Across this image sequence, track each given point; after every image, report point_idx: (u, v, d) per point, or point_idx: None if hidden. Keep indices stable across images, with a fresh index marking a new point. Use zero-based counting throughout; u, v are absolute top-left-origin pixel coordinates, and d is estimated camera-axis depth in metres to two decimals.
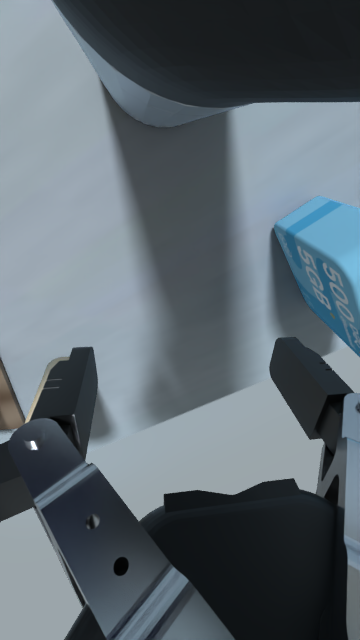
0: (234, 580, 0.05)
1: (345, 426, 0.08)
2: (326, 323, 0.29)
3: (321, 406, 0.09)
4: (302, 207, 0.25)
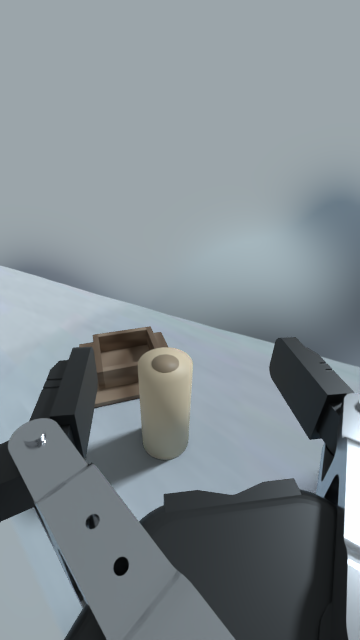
0: (235, 580, 0.05)
1: (345, 426, 0.08)
2: None
3: (321, 406, 0.09)
4: None
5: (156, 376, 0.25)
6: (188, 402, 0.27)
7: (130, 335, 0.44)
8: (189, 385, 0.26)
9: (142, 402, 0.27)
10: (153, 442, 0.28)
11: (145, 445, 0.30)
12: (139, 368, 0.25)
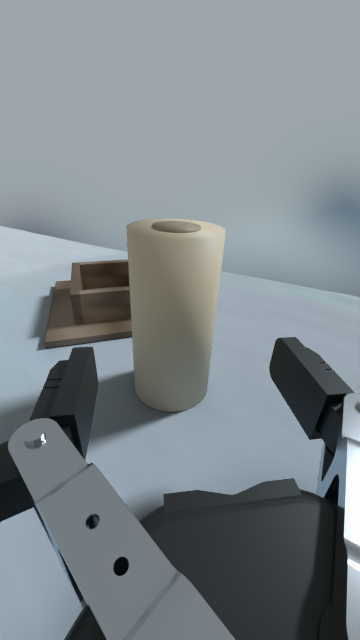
0: (234, 579, 0.05)
1: (345, 426, 0.08)
2: None
3: (321, 406, 0.09)
4: None
5: (161, 234, 0.13)
6: (214, 304, 0.16)
7: (124, 266, 0.33)
8: (219, 266, 0.14)
9: (134, 300, 0.15)
10: (152, 377, 0.17)
11: (138, 389, 0.18)
12: (129, 228, 0.14)
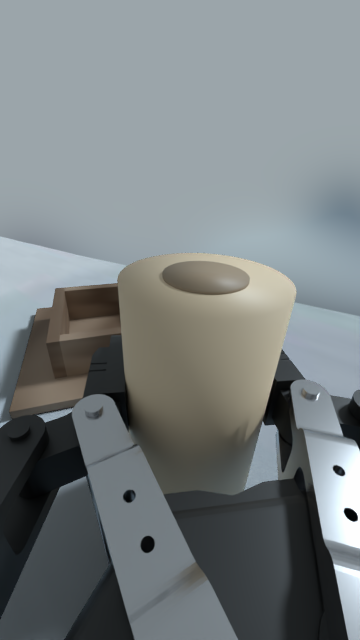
0: (235, 580, 0.05)
1: (297, 416, 0.08)
2: None
3: (273, 393, 0.10)
4: None
5: (184, 301, 0.07)
6: (267, 401, 0.09)
7: None
8: (282, 345, 0.08)
9: (132, 399, 0.09)
10: None
11: None
12: (122, 284, 0.08)
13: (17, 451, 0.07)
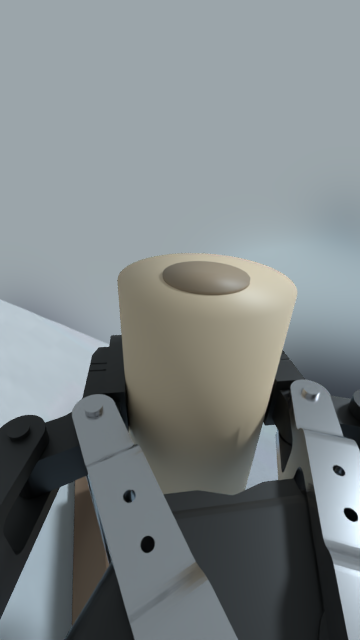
0: (235, 579, 0.05)
1: (297, 416, 0.08)
2: None
3: (273, 393, 0.10)
4: None
5: (184, 301, 0.07)
6: (268, 401, 0.09)
7: None
8: (282, 346, 0.08)
9: (132, 400, 0.09)
10: None
11: None
12: (122, 284, 0.08)
13: (17, 451, 0.07)
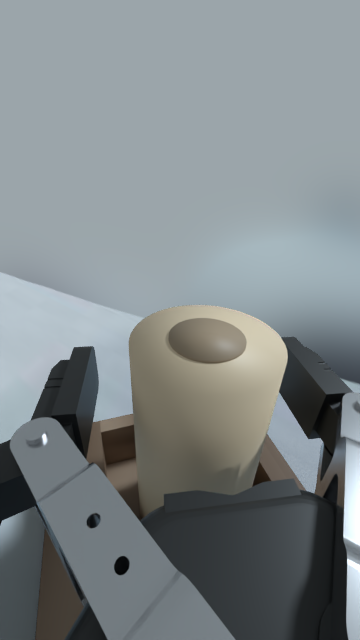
0: (234, 580, 0.05)
1: (344, 426, 0.08)
2: None
3: (320, 406, 0.09)
4: None
5: (189, 373, 0.08)
6: (263, 445, 0.10)
7: None
8: (275, 401, 0.09)
9: (141, 446, 0.10)
10: None
11: None
12: (134, 351, 0.09)
13: None
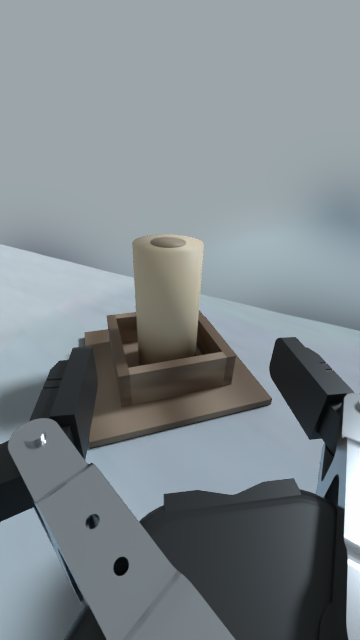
0: (235, 579, 0.05)
1: (345, 426, 0.08)
2: None
3: (321, 406, 0.09)
4: None
5: (157, 249, 0.19)
6: (197, 298, 0.21)
7: None
8: (199, 270, 0.20)
9: (138, 296, 0.21)
10: (153, 354, 0.22)
11: (142, 364, 0.24)
12: (134, 244, 0.20)
13: None
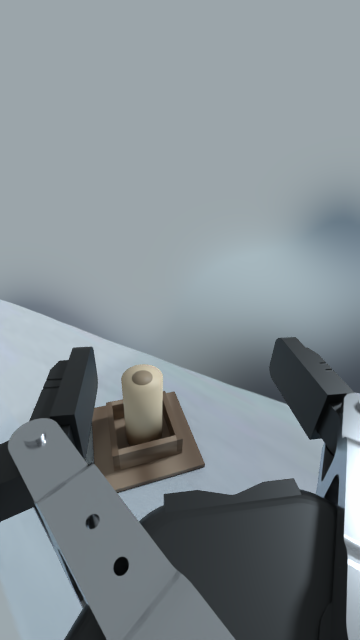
0: (235, 579, 0.05)
1: (345, 426, 0.08)
2: None
3: (321, 406, 0.09)
4: None
5: (135, 387, 0.33)
6: (160, 406, 0.36)
7: None
8: (160, 393, 0.35)
9: (125, 407, 0.36)
10: (134, 436, 0.37)
11: (128, 439, 0.39)
12: (122, 382, 0.34)
13: None
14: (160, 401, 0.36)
